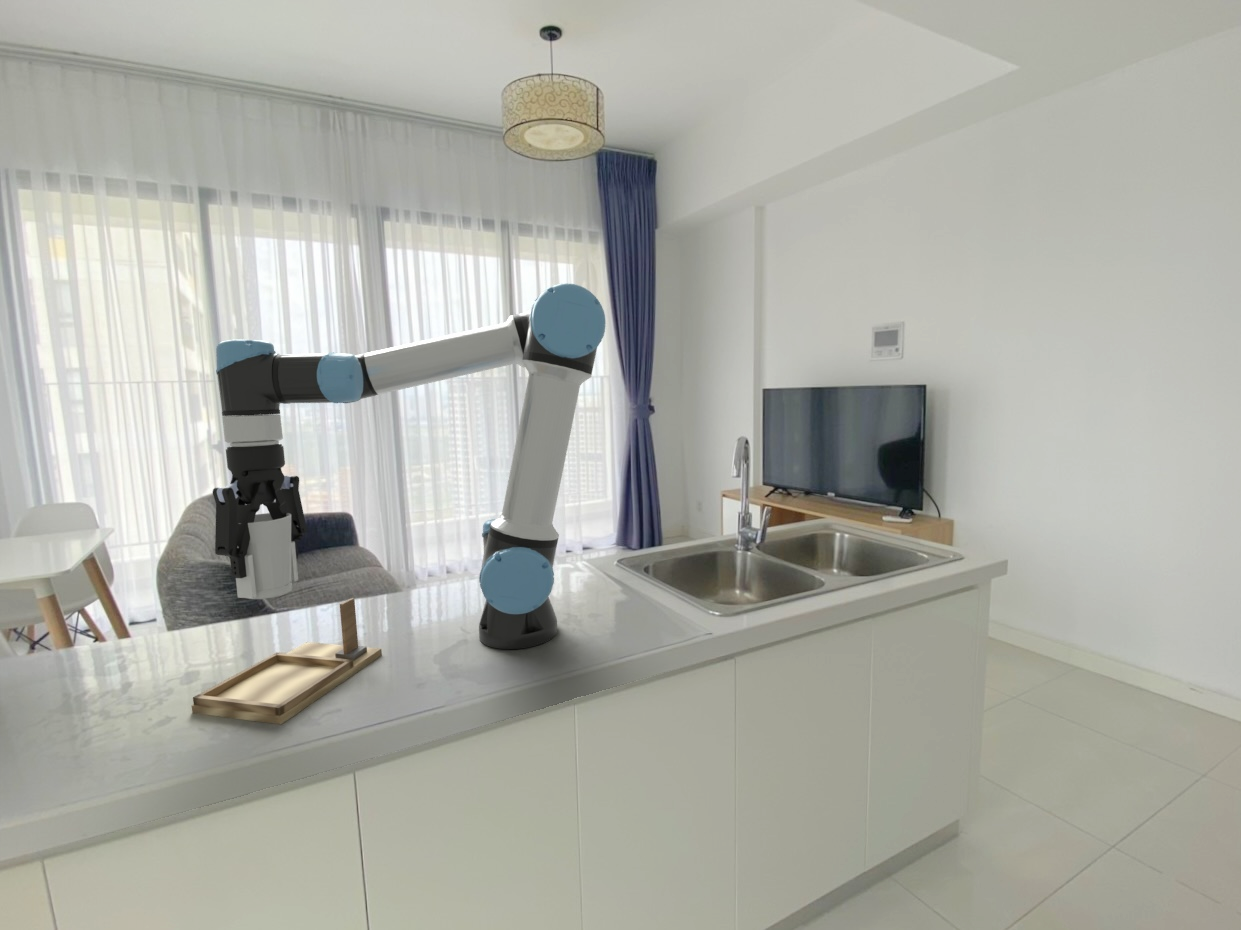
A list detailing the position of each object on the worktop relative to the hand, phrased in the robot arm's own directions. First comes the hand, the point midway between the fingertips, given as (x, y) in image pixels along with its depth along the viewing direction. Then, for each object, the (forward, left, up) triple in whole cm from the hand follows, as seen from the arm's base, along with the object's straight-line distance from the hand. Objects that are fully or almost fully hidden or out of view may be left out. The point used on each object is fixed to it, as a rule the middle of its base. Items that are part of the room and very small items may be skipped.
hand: (269, 588), depth 91 cm
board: (0, -3, -17) cm, 17 cm away
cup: (0, 0, -1) cm, 1 cm away
